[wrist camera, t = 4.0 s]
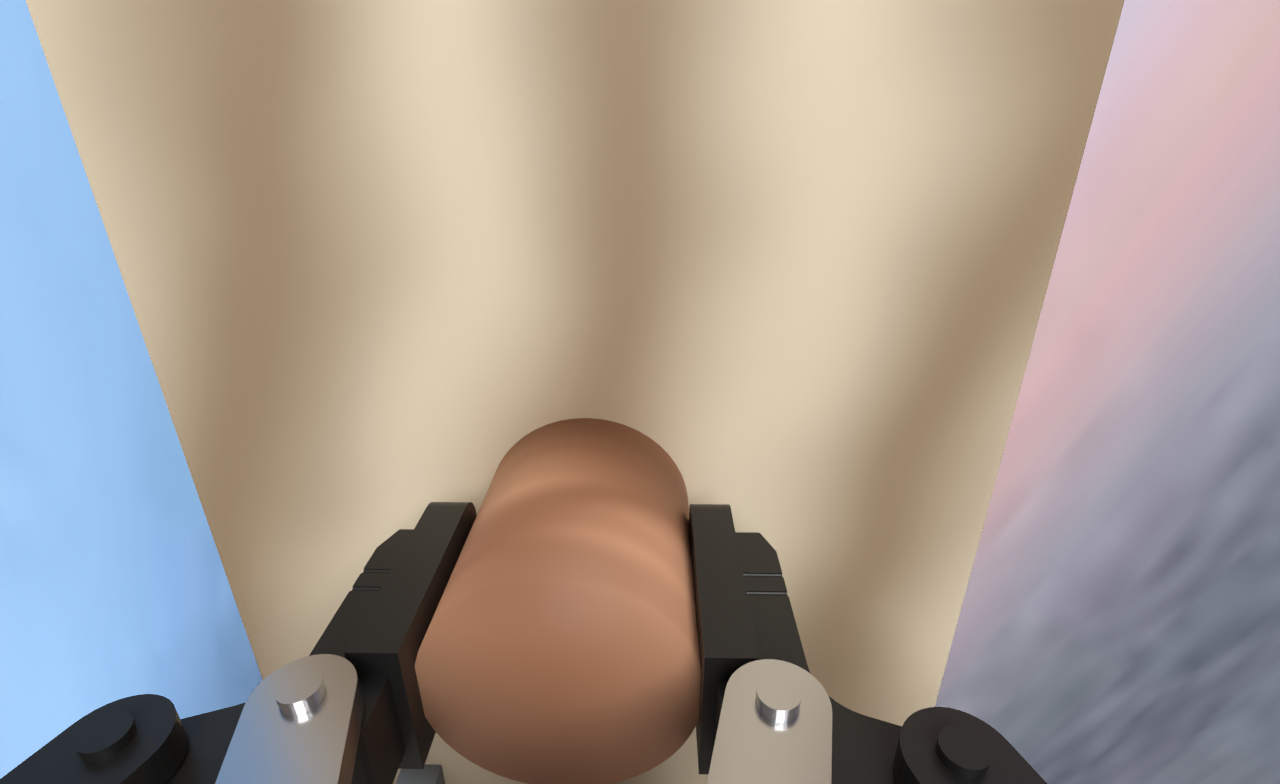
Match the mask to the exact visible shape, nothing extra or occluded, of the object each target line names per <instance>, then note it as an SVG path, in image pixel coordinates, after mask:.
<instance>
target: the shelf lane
mask: <svg viewBox="0 0 1280 784" xmlns="http://www.w3.org/2000/svg"><path fill="white" fill-rule="evenodd" d="M26 2H27V5H28V8H29V11H30V14H31V17H32V20H33V22H34V25H35V28H36V31H37V34H38V37H39V40H40V43H41V45H42V48H43V51H44V54H45V57H46V60H47V63H48V65H49V68H50V71H51V74H52V77H53V80H54V83H55V86H56V88H57V91H58V94H59V97H60V100H61V103H62V106H63V108H64V111H65V114H66V117H67V120H68V123H69V126H70V128H71V131H72V134H73V137H74V140H75V143H76V146H77V149H78V151H79V154H80V157H81V160H82V163H83V166H84V169H85V171H86V174H87V177H88V180H89V183H90V186H91V189H92V192H93V194H94V197H95V200H96V203H97V206H98V209H99V212H100V214H101V217H102V220H103V223H104V226H105V229H106V232H107V234H108V237H109V240H110V243H111V246H112V249H113V252H114V255H115V257H116V260H117V263H118V266H119V269H120V272H121V275H122V277H123V280H124V283H125V286H126V289H127V292H128V295H129V298H130V300H131V303H132V306H133V309H134V312H135V315H136V318H137V320H138V323H139V326H140V329H141V332H142V335H143V338H144V340H145V343H146V346H147V349H148V352H149V355H150V358H151V361H152V363H153V366H154V369H155V372H156V375H157V378H158V381H159V383H160V386H161V389H162V392H163V395H164V398H165V401H166V404H167V406H168V409H169V412H170V415H171V418H172V421H173V424H174V426H175V429H176V432H177V435H178V438H179V441H180V444H181V446H182V449H183V452H184V455H185V458H186V461H187V464H188V467H189V469H190V472H191V475H192V478H193V481H194V484H195V487H196V489H197V492H198V495H199V498H200V501H201V504H202V507H203V510H204V512H205V515H206V518H207V521H208V524H209V527H210V530H211V532H212V535H213V538H214V541H215V544H216V547H217V550H218V553H219V555H220V558H221V561H222V564H223V567H224V570H225V573H226V575H227V578H228V581H229V584H230V587H231V590H232V593H233V595H234V598H235V601H236V604H237V607H238V610H239V613H240V616H241V618H242V621H243V624H244V627H245V630H246V633H247V636H248V638H249V641H250V644H251V647H252V650H253V653H254V656H255V659H256V661H257V664H258V667H259V670H260V673H261V676H262V679H263V680H264V679H265V678H266V677H267V676H268V675H270V674H271V673H272V672H274V671H275V670H277V669H279V668H280V667H282V666H284V665H286V664H288V663H290V662H292V661H294V660H297V659H300V658H303V657H307V656H309V655H310V653H311V652H312V650H313V648H314V647H315V645H316V644H317V642H318V640H319V639H320V637H321V636H322V634H323V632H324V631H325V629H326V628H327V626H328V625H329V623H330V621H331V620H332V618H333V617H334V615H335V613H336V612H337V610H338V609H339V607H340V605H341V604H342V602H343V601H344V599H345V597H346V596H347V594H348V593H349V591H352V588H353V587H352V586H353V585H354V583H355V581H356V580H357V578H358V577H359V575H360V573H363V571H364V567H365V565H366V564H367V562H368V561H369V559H370V557H371V556H372V554H373V553H374V551H375V549H376V548H377V547H378V546H379V545H381V544H382V543H383V542H384V541H386V540H387V539H388V538H389V537H391V536H392V535H393V534H394V533H396V532H397V531H398V530H399V529H414V528H415V527H416V525H417V523H418V521H419V520H420V518H421V516H422V514H423V513H424V511H425V509H426V507H427V506H428V504H429V503H431V502H472V503H473V504H474V506H475V510H476V515H477V514H478V512H479V509H480V507H481V505H482V502H483V500H484V498H485V495H486V493H487V491H488V489H489V486H490V484H491V482H492V479H493V477H494V475H495V472H496V470H497V468H498V466H499V464H500V462H501V460H502V459H503V457H504V456H505V454H506V453H507V452H508V451H509V450H510V449H511V447H512V446H513V445H514V444H515V443H517V442H518V441H519V440H520V439H521V438H523V437H524V436H526V435H527V434H529V433H530V432H532V431H534V430H536V429H538V428H540V427H542V426H545V425H547V424H551V423H554V422H557V421H562V420H567V419H576V418H593V419H603V420H608V421H613V422H617V423H620V424H623V425H626V426H629V427H631V428H633V429H635V430H638V431H640V432H641V433H643V434H645V435H646V436H648V437H650V438H651V439H652V440H653V441H655V442H656V443H657V444H659V445H660V446H661V447H662V448H663V449H664V450H665V451H666V452H667V453H668V454H669V456H670V457H671V458H672V460H673V461H674V462H675V464H676V465H677V467H678V469H679V471H680V473H681V474H682V477H683V480H684V482H685V485H686V490H687V495H688V505H689V507H690V504H729V505H730V507H731V512H732V517H733V523H734V528H735V532H757V533H760V534H761V535H762V536H763V537H764V538H765V539H766V540H767V541H768V542H769V544H770V545H771V546H772V547H773V548H774V549H775V550H776V552H777V555H778V559H779V563H780V566H781V570H782V577H784V581H785V585H786V588H787V596H789V599H790V603H791V607H792V610H793V614H794V618H795V621H796V625H797V629H798V632H799V636H800V640H801V643H802V647H803V651H804V654H805V658H806V662H807V665H808V668H809V671H810V673H811V675H813V676H814V677H815V678H816V679H817V680H818V681H819V682H820V683H821V685H822V686H823V687H824V689H825V690H826V692H827V694H828V696H830V697H831V698H832V699H833V700H835V701H836V702H838V703H839V704H841V705H842V706H844V707H846V708H848V709H850V710H852V711H854V712H857V713H860V714H862V715H865V716H869V717H872V718H875V719H879V720H882V721H885V722H889V723H892V724H895V725H899V726H903V724H904V722H905V721H906V719H907V718H908V717H909V716H910V715H911V714H913V713H914V712H916V711H918V710H921V709H924V708H929V707H935V704H936V700H937V696H938V693H939V689H940V685H941V681H942V678H943V674H944V670H945V667H946V663H947V659H948V655H949V652H950V648H951V644H952V641H953V637H954V633H955V629H956V626H957V622H958V618H959V614H960V611H961V607H962V603H963V600H964V596H965V592H966V588H967V585H968V581H969V577H970V574H971V570H972V566H973V562H974V559H975V555H976V551H977V547H978V544H979V540H980V536H981V533H982V529H983V525H984V521H985V518H986V514H987V510H988V506H989V503H990V499H991V495H992V492H993V488H994V484H995V480H996V477H997V473H998V469H999V466H1000V462H1001V458H1002V454H1003V451H1004V447H1005V443H1006V439H1007V436H1008V432H1009V428H1010V425H1011V421H1012V417H1013V413H1014V410H1015V406H1016V402H1017V399H1018V395H1019V391H1020V387H1021V384H1022V380H1023V376H1024V372H1025V369H1026V365H1027V361H1028V358H1029V354H1030V350H1031V346H1032V343H1033V339H1034V335H1035V331H1036V328H1037V324H1038V320H1039V317H1040V313H1041V309H1042V305H1043V302H1044V298H1045V294H1046V291H1047V287H1048V283H1049V279H1050V276H1051V272H1052V268H1053V264H1054V261H1055V257H1056V253H1057V250H1058V246H1059V242H1060V238H1061V235H1062V231H1063V227H1064V223H1065V220H1066V216H1067V212H1068V209H1069V205H1070V201H1071V197H1072V194H1073V190H1074V186H1075V183H1076V179H1077V175H1078V171H1079V168H1080V164H1081V160H1082V156H1083V153H1084V149H1085V145H1086V142H1087V138H1088V134H1089V130H1090V127H1091V123H1092V119H1093V116H1094V112H1095V108H1096V104H1097V101H1098V97H1099V93H1100V89H1101V86H1102V82H1103V78H1104V75H1105V71H1106V67H1107V63H1108V60H1109V56H1110V52H1111V48H1112V45H1113V41H1114V37H1115V34H1116V30H1117V26H1118V22H1119V19H1120V15H1121V11H1122V8H1123V4H1124V0H26ZM707 779H708V774H699V768H698V753H697V738H696V727H695V728H694V730H693V732H692V734H691V735H690V737H689V738H688V739H687V740H686V742H685V743H684V744H683V746H681V747H680V748H679V749H678V750H677V751H676V752H675V753H674V754H673V755H672V756H671V757H669V758H668V759H667V760H665V761H664V762H663V763H661V764H660V765H658V766H656V767H654V768H653V769H651V770H649V771H647V772H645V773H643V774H640V775H638V776H636V777H633V778H630V779H627V780H624V781H621V782H617V783H614V784H707ZM393 784H527V783H523V782H518V781H515V780H511V779H508V778H505V777H502V776H499V775H497V774H495V773H492V772H490V771H488V770H485V769H483V768H481V767H480V766H478V765H476V764H474V763H472V762H471V761H469V760H467V759H466V758H465V757H463V756H462V755H460V754H459V753H457V752H456V751H455V750H454V749H452V748H451V747H450V746H449V745H448V744H447V743H446V742H444V741H443V739H442V738H441V737H440V736H439V735H438V734H437V733H435V736H434V739H433V742H432V745H431V747H430V750H429V753H428V756H427V759H426V762H425V765H424V768H423V769H398V771H397V774H396V776H395V779H394V782H393Z"/></svg>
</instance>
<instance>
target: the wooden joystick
mask: <svg viewBox="0 0 1280 784" xmlns="http://www.w3.org/2000/svg"><path fill="white" fill-rule="evenodd" d="M415 671H416V676H417V681H418V686H419V690H420V695H421V700H422V705H423V709H424V714H425V717H426V719H427V720H428V722H429V723H430V725H431V726H432V728H433V729H434V730H435V732H436V733H437V734H438V735H439V736H440V737H441V738H442V739H443V741H444V742H446V743H447V744H448V745H449V746H450V747H451V748H452V749H454V750H455V751H456V752H457V753H459V754H460V755H462V756H463V757H465V758H466V759H467V760H469V761H471V762H472V763H474V764H476V765H478V766H480V767H481V768H483V769H485V770H488V771H490V772H492V773H495V774H497V775H499V776H502V777H505V778H508V779H511V780H515V781H518V782H523V783H527V784H614V783H617V782H621V781H624V780H627V779H630V778H633V777H636V776H638V775H640V774H643V773H645V772H647V771H649V770H651V769H653V768H654V767H656V766H658V765H660V764H661V763H663V762H664V761H665V760H667V759H668V758H669V757H671V756H672V755H673V754H674V753H675V752H676V751H677V750H678V749H679V748H680V747H681V746H683V744H684V743H685V742H686V740H687V739H688V738H689V737H690V735H691V734H692V732H693V730H694V728H695V727H696V725H697V723H698V720H699V702H700V680H701V665H700V653H699V641H698V629H697V616H696V604H695V592H694V580H693V568H692V556H691V543H690V531H689V505H688V495H687V490H686V485H685V482H684V480H683V477H682V474H681V473H680V471H679V469H678V467H677V465H676V464H675V462H674V461H673V460H672V458H671V457H670V456H669V454H668V453H667V452H666V451H665V450H664V449H663V448H662V447H661V446H660V445H659V444H657V443H656V442H655V441H653V440H652V439H651V438H650V437H648V436H646V435H645V434H643V433H641V432H640V431H638V430H635V429H633V428H631V427H629V426H626V425H623V424H620V423H617V422H613V421H608V420H603V419H593V418H576V419H567V420H562V421H557V422H554V423H551V424H547V425H545V426H542V427H540V428H538V429H536V430H534V431H532V432H530V433H529V434H527V435H526V436H524V437H523V438H521V439H520V440H519V441H518V442H517V443H515V444H514V445H513V446H512V447H511V449H510V450H509V451H508V452H507V453H506V454H505V456H504V457H503V459H502V460H501V462H500V464H499V466H498V468H497V470H496V472H495V475H494V477H493V479H492V482H491V484H490V486H489V489H488V491H487V493H486V495H485V498H484V500H483V502H482V505H481V507H480V509H479V512H478V514H477V516H476V519H475V521H474V523H473V526H472V528H471V530H470V532H469V535H468V537H467V539H466V542H465V544H464V546H463V549H462V551H461V553H460V556H459V558H458V560H457V563H456V565H455V567H454V569H453V572H452V574H451V576H450V579H449V581H448V583H447V586H446V588H445V590H444V593H443V595H442V597H441V600H440V602H439V604H438V606H437V609H436V611H435V613H434V616H433V618H432V620H431V623H430V625H429V627H428V630H427V632H426V634H425V637H424V639H423V641H422V643H421V646H420V648H419V650H418V654H417V658H416V662H415Z"/></svg>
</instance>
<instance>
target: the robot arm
mask: <svg viewBox="0 0 1280 784" xmlns="http://www.w3.org/2000/svg"><path fill="white" fill-rule="evenodd" d="M476 516H477V515H476V510H475V506H474V504H473V503H472V502H431V503H429V504H428V506H427V507H426V509H425V511H424V513H423V514H422V516H421V518H420V520H419V521H418V523H417V525H416V527H415V528H414V529H399V530H398V531H397V532H396V533H394V534H393V535H392V536H391V537H389V538H388V539H387V540H386V541H384V542H383V543H382V544H381V545H379V546H378V547H377V548H376V549H375V551H374V553H373V554H372V556H371V557H370V559H369V561H368V562H367V564H366V565H365V567H364V571H363V573H360V575H359V577H358V578H357V580H356V581H355V583H354V585H353V586H352V587H353V588H352V591H349V593H348V594H347V596H346V597H345V599H344V601H343V602H342V604H341V605H340V607H339V609H338V610H337V612H336V613H335V615H334V617H333V618H332V620H331V621H330V623H329V625H328V626H327V628H326V629H325V631H324V632H323V634H322V636H321V637H320V639H319V640H318V642H317V644H316V645H315V647H314V648H313V650H312V652H311V653H310V655H309V656H307V657H303V658H300V659H297V660H294V661H292V662H290V663H288V664H286V665H284V666H282V667H280V668H279V669H277V670H275V671H274V672H272V673H271V674H270V675H268V676H267V677H266V678H265V679H264V680H263V681H261V682H260V683H259V684H258V686H257V687H256V688H255V689H254V690H253V691H252V693H251V694H250V696H249V697H248V699H247V701H246V703H243V704H240V705H236V706H232V707H228V708H224V709H220V710H216V711H212V712H208V713H204V714H200V715H196V716H192V717H188V718H184V719H180V718H179V716H178V713H177V711H176V709H175V707H174V704H173V703H172V702H171V701H170V700H169V699H167V698H165V697H163V696H159V695H153V694H144V695H136V696H131V697H127V698H123V699H120V700H117V701H114V702H112V703H109V704H107V705H105V706H103V707H101V708H98V709H96V710H94V711H93V712H91V713H89V714H88V715H86V716H84V717H83V718H81V719H80V720H78V721H77V722H75V723H74V724H73V725H71V726H70V727H69V728H67V729H66V730H65V731H63V732H62V733H61V734H59V735H58V736H57V737H55V738H54V739H53V740H51V741H50V742H49V743H48V744H46V745H45V746H44V747H42V748H41V749H40V750H38V751H37V752H36V753H34V754H33V755H32V756H30V757H29V758H28V759H26V760H25V761H24V762H22V763H21V764H20V765H18V766H17V767H16V768H14V769H13V770H12V771H11V772H9V773H8V774H7V775H5V776H4V777H3V778H1V779H0V784H393V782H394V779H395V776H396V774H397V771H398V769H423V768H424V765H425V762H426V759H427V756H428V753H429V750H430V747H431V745H432V742H433V739H434V736H435V733H436V732H435V730H434V729H433V728H432V726H431V725H430V723H429V722H428V720H427V719H426V717H425V714H424V709H423V705H422V700H421V695H420V690H419V686H418V681H417V676H416V671H415V662H416V658H417V654H418V650H419V648H420V646H421V643H422V641H423V639H424V637H425V634H426V632H427V630H428V627H429V625H430V623H431V620H432V618H433V616H434V613H435V611H436V609H437V606H438V604H439V602H440V600H441V597H442V595H443V593H444V590H445V588H446V586H447V583H448V581H449V579H450V576H451V574H452V572H453V569H454V567H455V565H456V563H457V560H458V558H459V556H460V553H461V551H462V549H463V546H464V544H465V542H466V539H467V537H468V535H469V532H470V530H471V528H472V526H473V523H474V521H475V519H476ZM689 531H690V543H691V556H692V568H693V580H694V592H695V604H696V616H697V629H698V641H699V653H700V665H701V680H700V702H699V720H698V723H697V725H696V738H697V753H698V768H699V774H708V779H707V784H1047V783H1046V782H1045V781H1044V780H1043V779H1042V778H1041V777H1040V775H1039V774H1038V773H1037V772H1036V771H1035V770H1034V769H1033V768H1032V767H1031V766H1030V765H1029V764H1028V763H1027V761H1026V760H1025V759H1024V758H1023V757H1022V756H1021V755H1020V754H1019V753H1018V752H1017V751H1016V750H1015V749H1014V747H1013V746H1012V745H1011V744H1010V743H1009V742H1008V741H1007V740H1006V739H1005V738H1004V737H1003V736H1002V735H1001V734H1000V733H999V732H997V731H996V730H995V729H994V728H992V727H991V726H990V725H988V724H987V723H985V722H983V721H982V720H980V719H978V718H976V717H974V716H972V715H970V714H968V713H965V712H962V711H959V710H956V709H951V708H945V707H929V708H924V709H921V710H918V711H916V712H914V713H913V714H911V715H910V716H909V717H908V718H907V719H906V721H905V722H904V724H903V726H899V725H895V724H892V723H889V722H885V721H882V720H879V719H875V718H872V717H869V716H865V715H862V714H860V713H857V712H854V711H852V710H850V709H848V708H846V707H844V706H842V705H841V704H839V703H838V702H836V701H835V700H833V699H832V698H831V697H830V696H828V694H827V692H826V690H825V689H824V687H823V686H822V685H821V683H820V682H819V681H818V680H817V679H816V678H815V677H814V676H813V675H811V673H810V671H809V668H808V665H807V662H806V658H805V654H804V651H803V647H802V643H801V640H800V636H799V632H798V629H797V625H796V621H795V618H794V614H793V610H792V607H791V603H790V599H789V596H787V588H786V585H785V581H784V577H782V570H781V566H780V563H779V559H778V555H777V552H776V550H775V549H774V548H773V547H772V546H771V545H770V544H769V542H768V541H767V540H766V539H765V538H764V537H763V536H762V535H761V534H760V533H757V532H735V528H734V523H733V517H732V512H731V507H730V505H729V504H690V507H689Z"/></svg>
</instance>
